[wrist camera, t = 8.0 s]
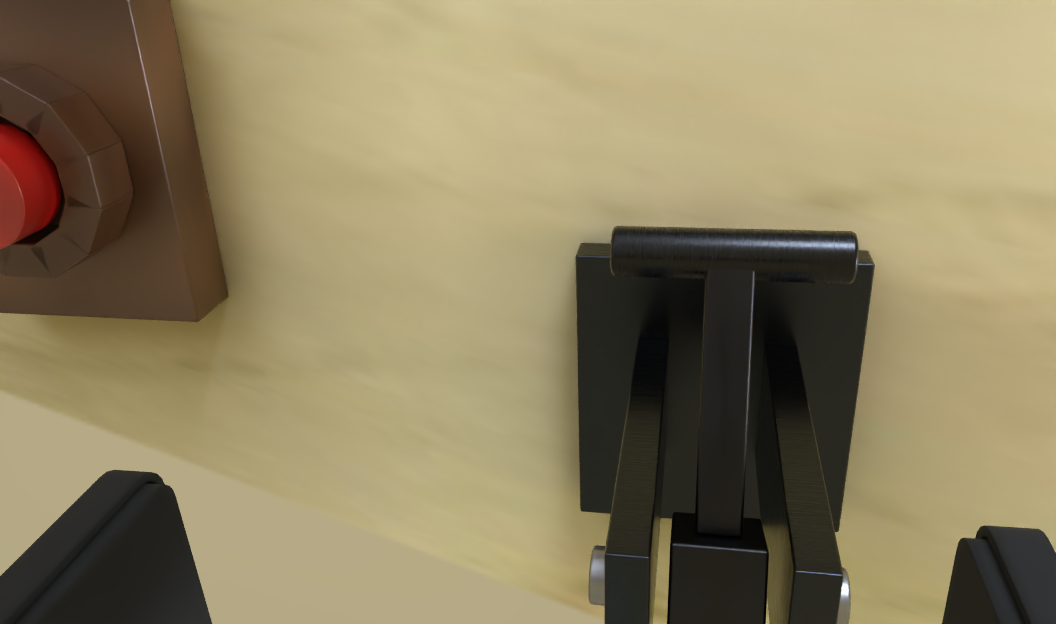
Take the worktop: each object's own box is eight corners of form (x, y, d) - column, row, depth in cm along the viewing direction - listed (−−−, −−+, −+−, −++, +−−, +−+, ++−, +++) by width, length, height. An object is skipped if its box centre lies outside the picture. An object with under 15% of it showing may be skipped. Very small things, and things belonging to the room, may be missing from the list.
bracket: (580, 242, 29) (507, 439, 18) (868, 250, 27) (971, 470, 17) (584, 492, 33) (527, 769, 22) (834, 511, 31) (899, 820, 21)
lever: (617, 226, 22) (608, 225, 20) (846, 231, 21) (866, 231, 19) (604, 609, 23) (594, 652, 21) (823, 632, 22) (839, 679, 20)
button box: (-80, -15, 29) (-189, -3, 26) (165, -23, 28) (85, -12, 24) (14, 288, 34) (-68, 334, 30) (229, 297, 32) (170, 346, 29)
